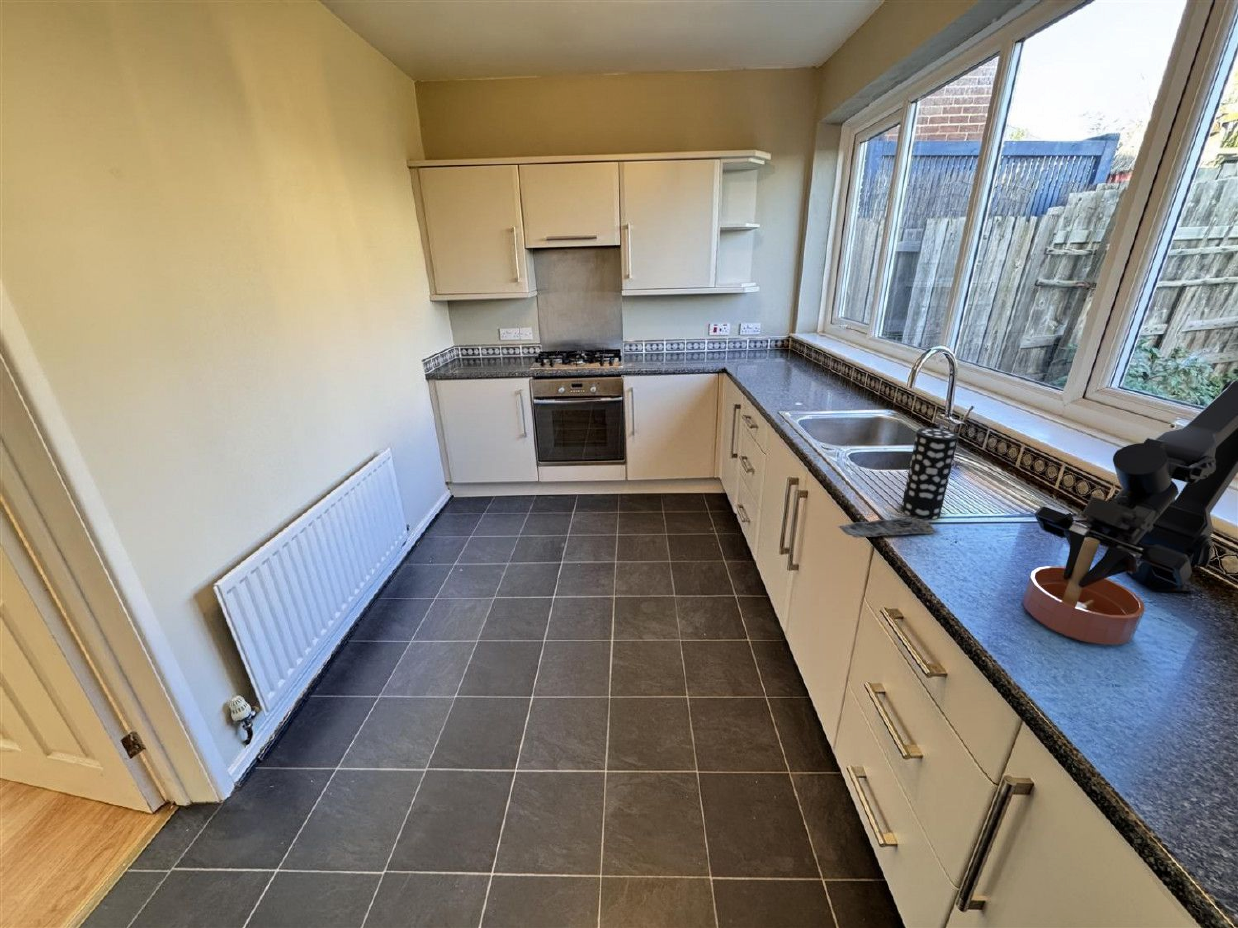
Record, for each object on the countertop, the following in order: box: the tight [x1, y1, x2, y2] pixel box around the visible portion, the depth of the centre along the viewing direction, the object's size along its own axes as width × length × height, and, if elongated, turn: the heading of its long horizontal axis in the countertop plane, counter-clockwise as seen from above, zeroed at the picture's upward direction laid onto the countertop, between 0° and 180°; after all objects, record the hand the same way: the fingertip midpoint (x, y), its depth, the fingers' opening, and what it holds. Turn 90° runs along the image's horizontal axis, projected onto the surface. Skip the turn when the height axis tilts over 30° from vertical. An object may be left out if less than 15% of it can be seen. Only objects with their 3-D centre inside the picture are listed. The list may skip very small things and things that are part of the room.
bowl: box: [1021, 565, 1146, 646], centre depth 85 cm, size 14×14×6 cm
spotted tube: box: [900, 427, 960, 520], centre depth 120 cm, size 8×8×20 cm
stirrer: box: [1062, 537, 1100, 610], centre depth 83 cm, size 10×2×15 cm, turn 115°
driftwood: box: [838, 517, 937, 539], centre depth 115 cm, size 21×7×2 cm, turn 96°
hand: (1072, 582), depth 81 cm, fingers closed on stirrer, 2 cm apart
